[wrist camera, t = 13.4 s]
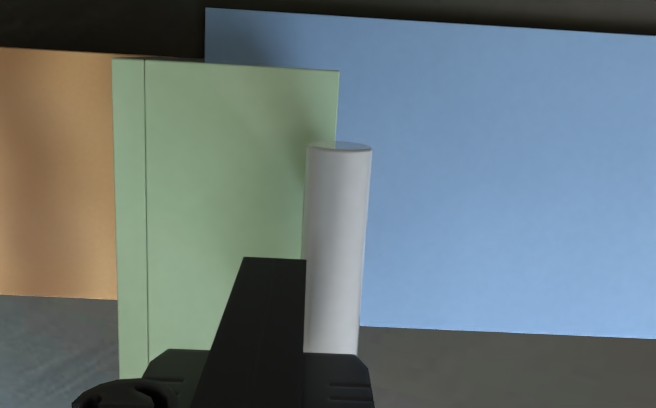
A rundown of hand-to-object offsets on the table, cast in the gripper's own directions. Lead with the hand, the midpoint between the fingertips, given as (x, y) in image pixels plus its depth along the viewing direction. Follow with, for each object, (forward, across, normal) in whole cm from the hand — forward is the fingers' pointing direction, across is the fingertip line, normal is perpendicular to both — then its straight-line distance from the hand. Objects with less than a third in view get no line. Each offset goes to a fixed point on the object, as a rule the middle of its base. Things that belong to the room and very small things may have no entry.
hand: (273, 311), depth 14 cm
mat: (+17, +9, 0) cm, 19 cm away
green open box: (+6, -5, 0) cm, 8 cm away
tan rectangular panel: (+17, -12, 0) cm, 20 cm away
